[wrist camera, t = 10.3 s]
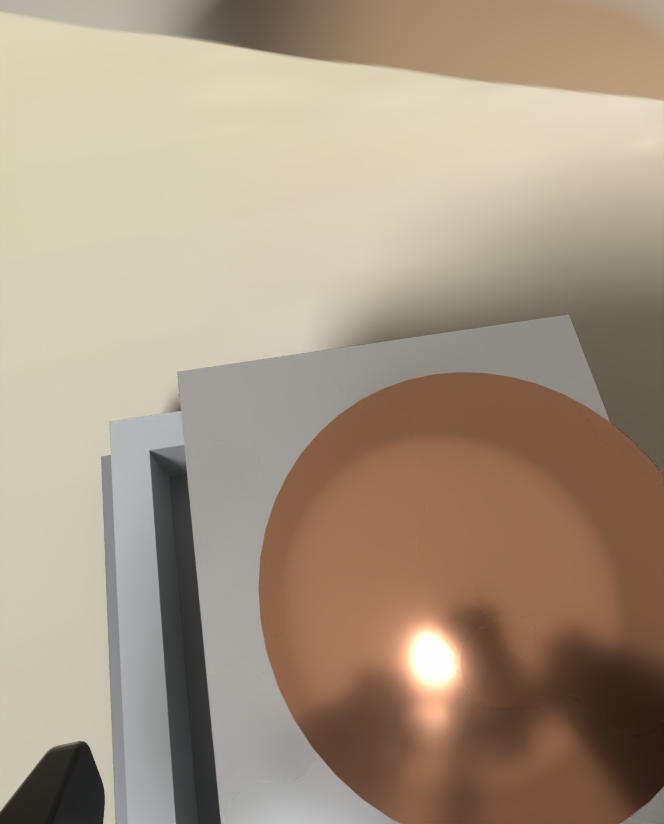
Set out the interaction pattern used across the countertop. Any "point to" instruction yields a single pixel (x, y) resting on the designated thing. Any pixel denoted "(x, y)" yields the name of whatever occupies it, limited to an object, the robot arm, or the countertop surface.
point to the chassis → (155, 630)
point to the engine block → (427, 585)
